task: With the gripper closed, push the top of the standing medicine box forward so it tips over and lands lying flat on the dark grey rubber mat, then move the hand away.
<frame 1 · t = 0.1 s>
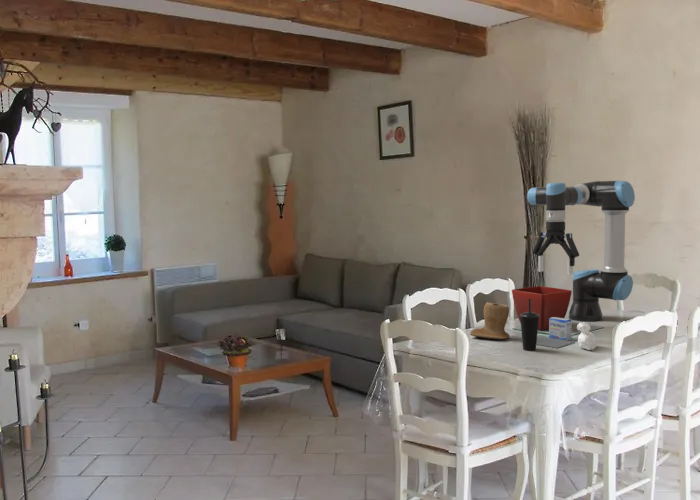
hand: (555, 272, 282), 28 cm above the table, tool pointing down, fingers open, 13 cm apart
mat: (548, 342, 280), on the table
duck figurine: (586, 348, 270), on the table
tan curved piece: (491, 338, 291), on the table
plant pot: (541, 327, 311), on the table
drinking cup: (529, 349, 269), on the table
medicine box: (560, 339, 286), on the table
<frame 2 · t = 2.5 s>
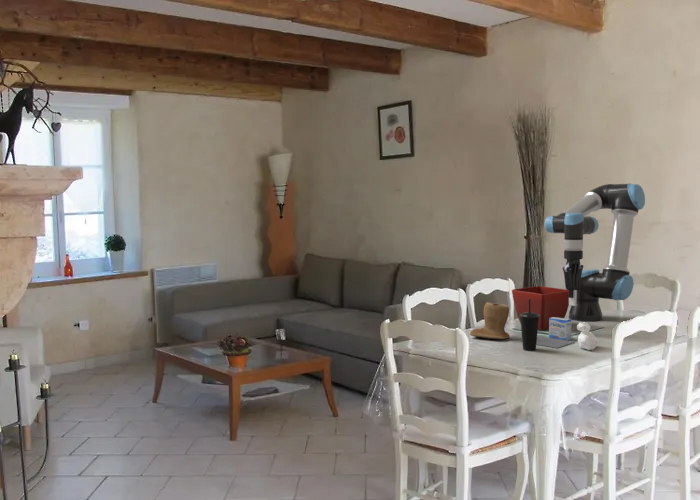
hand: (572, 305, 291), 13 cm above the table, tool pointing down, fingers closed
nothing on the table moved.
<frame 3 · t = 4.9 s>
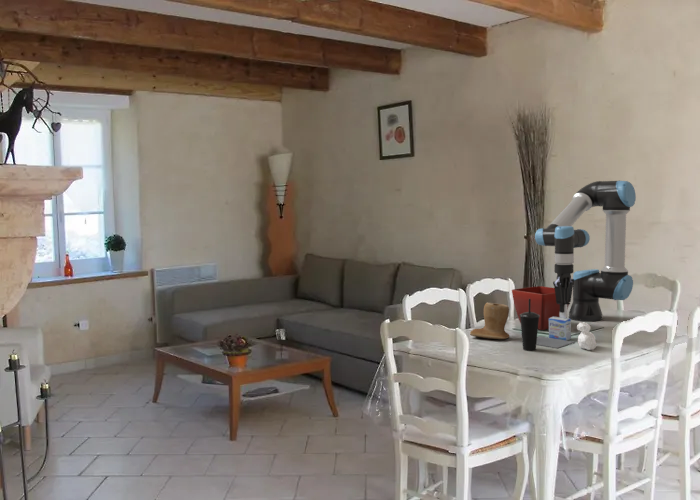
hand: (563, 319, 287), 8 cm above the table, tool pointing down, fingers closed
nothing on the table moved.
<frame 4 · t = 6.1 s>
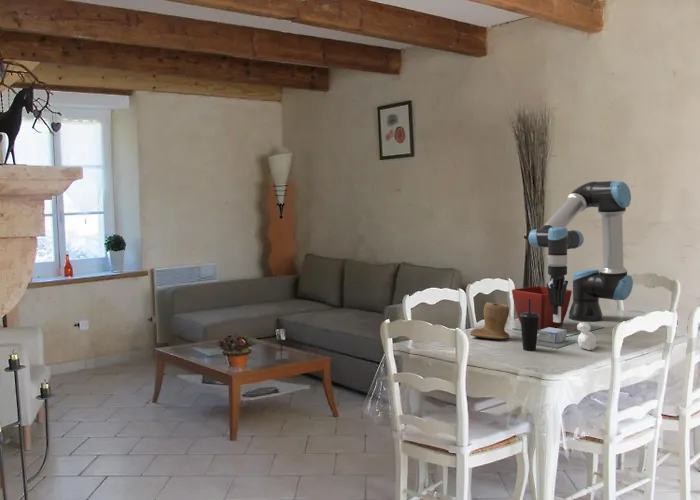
hand: (557, 322, 284), 7 cm above the table, tool pointing down, fingers closed
medicine box: (558, 333, 285), point 3 cm above the table, touching mat
everything else where it was.
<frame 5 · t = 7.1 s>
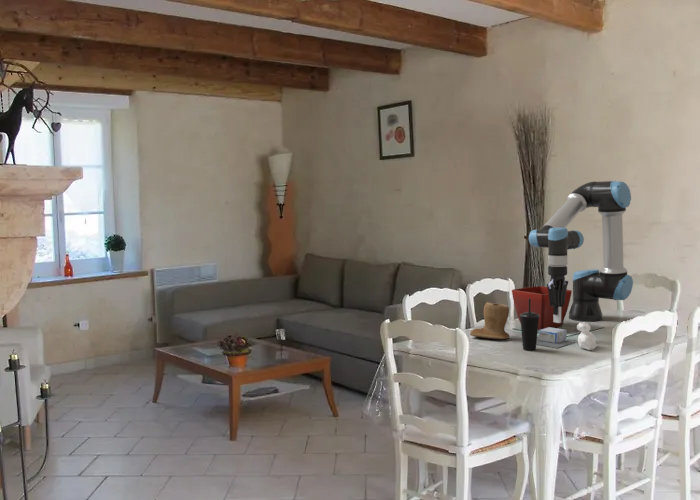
hand: (557, 322, 284), 7 cm above the table, tool pointing down, fingers closed
nothing on the table moved.
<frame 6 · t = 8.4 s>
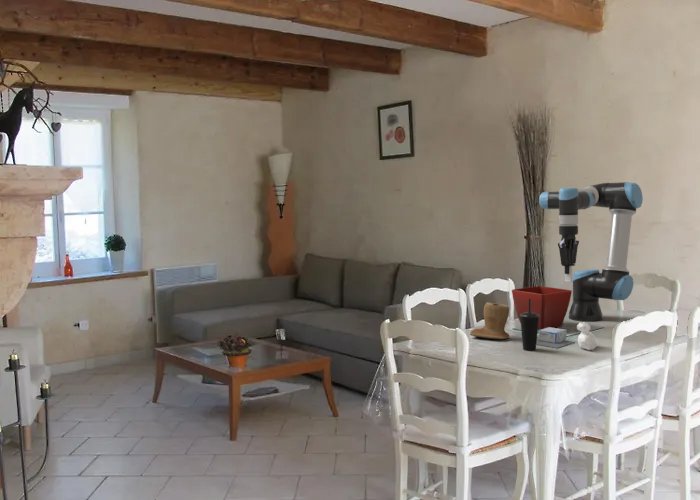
hand: (568, 281, 288), 23 cm above the table, tool pointing down, fingers closed
nothing on the table moved.
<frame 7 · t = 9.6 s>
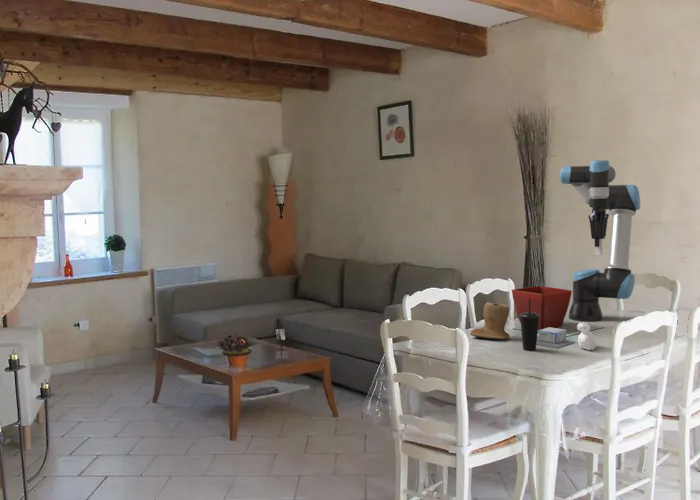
hand: (598, 254, 288), 34 cm above the table, tool pointing down, fingers closed
nothing on the table moved.
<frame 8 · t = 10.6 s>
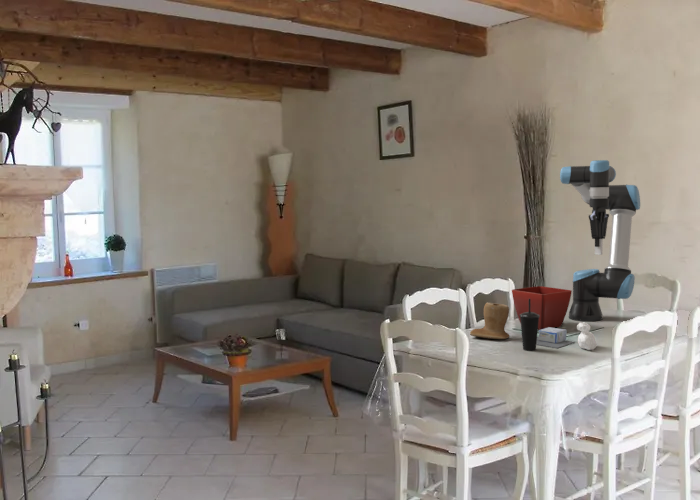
hand: (598, 254, 288), 34 cm above the table, tool pointing down, fingers closed
nothing on the table moved.
at the end: medicine box tilted 90°; medicine box inside the target area (7.6 cm from its centre), point 2.7 cm above the table; medicine box touching mat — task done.
